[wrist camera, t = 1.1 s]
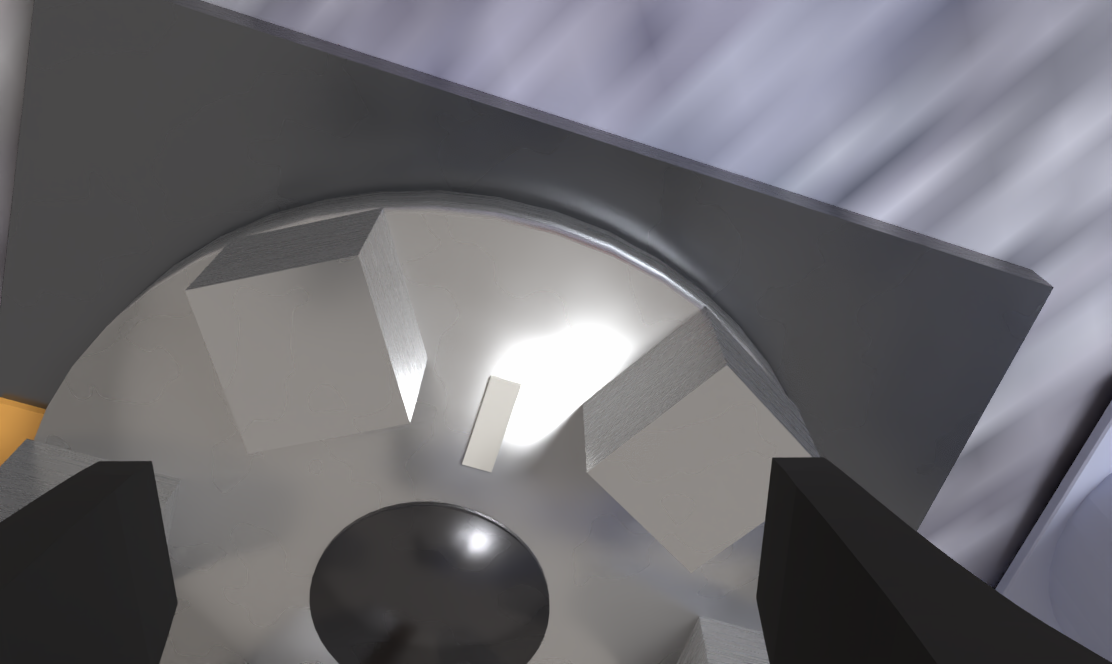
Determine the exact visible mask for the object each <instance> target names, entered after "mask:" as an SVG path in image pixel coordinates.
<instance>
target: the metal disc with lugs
mask: <svg viewBox="0 0 1112 664" xmlns="http://www.w3.org/2000/svg"><path fill="white" fill-rule="evenodd" d="M773 457H820V455H819V453H818V451H817V449H816V446H815V444H814V442H813V440H812V438H811V436H810V434H809V431H808V429H807V427H806V425H805V423H804V421H803V419H802V416H801V414H800V412H799V410H798V408H797V406H796V405H795V404H794V403H793V402H792V400H791V399H790V398H789V397H788V396H787V395H786V393H785V391H784V390H783V388H782V386H781V384H780V383H779V381H778V379H777V377H776V375H775V374H774V372H773V370H772V368H771V367H770V365H769V363H768V362H767V361H766V360H765V358H764V357H763V356H762V354H761V353H760V352H759V351H758V349H757V348H756V347H755V346H754V344H753V343H752V342H751V340H750V339H749V338H748V337H747V335H746V334H745V333H744V331H743V330H742V329H741V328H740V326H739V325H738V324H737V323H736V322H735V321H734V320H733V319H732V318H731V317H730V316H728V315H727V314H726V313H725V312H724V311H723V310H722V309H721V308H720V307H719V306H718V305H717V304H716V303H715V302H714V301H713V300H712V299H711V298H710V297H709V296H708V295H707V294H706V293H705V292H704V291H702V290H701V289H700V288H699V287H697V286H696V285H695V284H693V283H692V282H690V281H689V280H688V279H686V278H685V277H684V276H682V275H681V274H679V273H678V272H677V271H675V270H674V269H673V268H671V267H670V266H668V265H667V264H666V263H664V262H663V261H661V260H660V259H659V258H657V257H655V256H654V255H652V254H650V253H648V252H646V251H644V250H642V249H641V248H639V247H637V246H635V245H633V244H631V243H629V242H628V241H626V240H624V239H622V238H620V237H618V236H616V235H615V234H613V233H611V232H609V231H607V230H604V229H601V228H599V227H596V226H594V225H591V224H588V223H586V222H583V221H581V220H578V219H575V218H573V217H570V216H567V215H565V214H562V213H560V212H557V211H554V210H550V209H546V208H542V207H537V206H533V205H529V204H525V203H521V202H517V201H513V200H509V199H505V198H501V197H494V196H485V195H476V194H467V193H459V192H450V191H441V190H436V191H380V192H373V193H366V194H359V195H352V196H345V197H338V198H331V199H325V200H321V201H317V202H314V203H310V204H307V205H303V206H300V207H296V208H293V209H289V210H285V211H282V212H278V213H275V214H271V215H269V216H266V217H264V218H262V219H259V220H257V221H255V222H253V223H250V224H248V225H246V226H243V227H241V228H239V229H237V230H234V231H232V232H230V233H227V234H225V235H223V236H220V237H219V238H217V239H216V240H214V241H212V242H211V243H209V244H207V245H206V246H204V247H203V248H201V249H199V250H198V251H196V252H194V253H193V254H191V255H190V256H188V257H186V258H185V259H183V260H182V261H180V262H178V263H177V264H175V265H174V266H173V267H172V268H170V269H169V270H168V271H167V272H166V273H165V274H163V275H162V276H161V277H160V278H159V279H157V280H156V281H155V282H154V283H153V284H151V285H150V286H149V287H148V288H147V289H146V290H144V291H143V292H142V293H141V294H140V295H138V296H137V297H136V298H135V299H134V300H133V301H132V302H131V303H130V304H129V305H128V306H127V307H126V308H125V309H124V310H123V311H122V312H121V313H120V314H119V315H118V316H117V317H116V318H115V319H114V320H113V321H112V322H111V323H110V324H109V325H108V326H107V327H106V328H105V329H104V330H103V331H102V332H101V334H100V335H99V336H98V337H97V338H96V339H95V340H94V342H93V343H92V344H91V345H90V346H89V347H88V349H87V350H86V351H85V352H84V353H83V354H82V355H81V357H80V358H79V359H78V360H77V361H76V362H75V364H74V365H73V366H72V367H71V369H70V371H69V372H68V374H67V376H66V377H65V379H64V381H63V382H62V384H61V385H60V387H59V389H58V390H57V392H56V394H55V395H54V397H53V398H52V400H51V402H50V403H49V405H48V407H47V408H46V411H45V413H44V416H43V418H42V421H41V423H40V426H39V428H38V431H37V433H36V436H35V438H34V440H30V439H26V440H25V441H24V442H23V443H22V444H21V445H20V446H19V447H18V448H17V449H16V450H15V451H14V453H13V454H12V455H11V456H10V457H9V458H8V459H7V460H6V461H5V462H4V463H3V464H2V465H1V466H0V522H1V521H3V520H4V519H6V518H8V517H9V516H11V515H12V514H14V513H15V512H17V511H18V510H20V509H21V508H23V507H24V506H26V505H28V504H29V503H31V502H32V501H34V500H35V499H37V498H38V497H40V496H41V495H43V494H44V493H46V492H48V491H49V490H51V489H52V488H54V487H55V486H57V485H59V484H60V483H62V482H63V481H65V480H67V479H68V478H70V477H71V476H73V475H75V474H76V473H78V472H80V471H82V470H83V469H85V468H87V467H89V466H91V465H93V464H95V463H96V462H98V461H152V464H153V469H154V475H155V480H156V486H157V491H158V497H159V502H160V508H161V513H162V519H163V524H164V530H165V535H166V541H167V546H168V552H169V558H170V563H171V569H172V574H173V580H174V585H175V591H176V596H177V602H178V604H177V608H176V611H175V615H174V618H173V621H172V625H171V628H170V631H169V635H168V638H167V642H166V645H165V648H164V651H163V654H162V657H161V660H160V663H159V664H770V663H769V658H768V654H767V649H766V645H765V640H764V636H763V631H762V626H761V621H760V616H759V611H758V606H757V601H756V593H757V584H758V576H759V567H760V559H761V550H762V541H763V533H764V524H765V516H766V507H767V498H768V490H769V481H770V472H771V464H772V458H773Z"/></svg>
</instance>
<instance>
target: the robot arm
mask: <svg viewBox="0 0 1112 664" xmlns="http://www.w3.org/2000/svg"><path fill="white" fill-rule="evenodd" d="M756 601H757V606H758V611H759V616H760V621H761V626H762V631H763V636H764V640H765V645H766V649H767V654H768V658H769V663H770V664H1112V401H1111V402H1110V404H1109V405H1108V407H1107V409H1106V410H1105V412H1104V414H1103V415H1102V417H1101V418H1100V420H1099V422H1098V423H1097V425H1096V427H1095V428H1094V430H1093V431H1092V433H1091V435H1090V436H1089V438H1088V440H1087V441H1086V443H1085V444H1084V446H1083V448H1082V449H1081V451H1080V453H1079V454H1078V456H1077V457H1076V459H1075V461H1074V462H1073V464H1072V466H1071V467H1070V469H1069V470H1068V472H1067V474H1066V475H1065V477H1064V479H1063V480H1062V482H1061V483H1060V485H1059V487H1058V488H1057V490H1056V492H1055V493H1054V495H1053V496H1052V498H1051V500H1050V501H1049V503H1048V505H1047V506H1046V508H1045V509H1044V511H1043V513H1042V514H1041V516H1040V518H1039V519H1038V521H1037V522H1036V524H1035V526H1034V527H1033V529H1032V531H1031V532H1030V534H1029V535H1028V537H1027V539H1026V540H1025V542H1024V544H1023V545H1022V547H1021V548H1020V550H1019V552H1018V553H1017V555H1016V556H1015V558H1014V560H1013V561H1012V563H1011V565H1010V566H1009V568H1008V569H1007V571H1006V573H1005V574H1004V576H1003V578H1002V579H1001V581H1000V582H999V584H998V586H997V587H996V589H993V588H992V587H990V586H989V585H987V584H986V583H985V582H983V581H982V580H980V579H979V578H977V577H976V576H975V575H973V574H972V573H970V572H969V571H968V570H966V569H965V568H964V567H962V566H961V565H960V564H958V563H957V562H955V561H954V560H953V559H951V558H950V557H949V556H947V555H946V554H945V553H943V552H942V551H941V550H940V549H938V548H937V547H936V546H934V545H933V544H932V543H930V542H929V541H928V540H927V539H925V538H924V537H923V536H922V535H920V534H919V533H918V532H916V531H915V530H914V529H913V528H911V527H910V526H909V525H908V524H906V523H905V522H904V521H903V520H902V519H900V518H899V517H898V516H897V515H895V514H894V513H893V512H892V511H890V510H889V509H888V508H887V507H886V506H884V505H883V504H882V503H881V502H879V501H878V500H877V499H876V498H875V497H873V496H872V495H871V494H870V493H869V492H867V491H866V490H865V489H864V488H862V487H861V486H860V485H859V484H858V483H856V482H855V481H854V480H853V479H852V478H850V477H849V476H848V475H847V474H845V473H844V472H843V471H842V470H840V469H839V468H838V467H836V466H835V465H834V464H833V463H831V462H830V461H828V460H827V459H826V458H824V457H773V458H772V464H771V472H770V481H769V490H768V498H767V507H766V516H765V524H764V533H763V541H762V550H761V559H760V567H759V576H758V584H757V593H756ZM177 604H178V602H177V596H176V591H175V585H174V580H173V574H172V569H171V563H170V558H169V552H168V546H167V541H166V535H165V530H164V524H163V519H162V513H161V508H160V502H159V497H158V491H157V486H156V480H155V475H154V469H153V464H152V461H98V462H96V463H95V464H93V465H91V466H89V467H87V468H85V469H83V470H82V471H80V472H78V473H76V474H75V475H73V476H71V477H70V478H68V479H67V480H65V481H63V482H62V483H60V484H59V485H57V486H55V487H54V488H52V489H51V490H49V491H48V492H46V493H44V494H43V495H41V496H40V497H38V498H37V499H35V500H34V501H32V502H31V503H29V504H28V505H26V506H24V507H23V508H21V509H20V510H18V511H17V512H15V513H14V514H12V515H11V516H9V517H8V518H6V519H4V520H3V521H1V522H0V664H159V663H160V660H161V657H162V654H163V651H164V648H165V645H166V642H167V638H168V635H169V631H170V628H171V625H172V621H173V618H174V615H175V611H176V608H177Z"/></svg>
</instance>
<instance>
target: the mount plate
mask: <svg viewBox="0 0 1112 664" xmlns="http://www.w3.org/2000/svg"><path fill="white" fill-rule="evenodd" d="M436 190H441V191H450V192H459V193H467V194H476V195H485V196H494V197H501V198H505V199H509V200H513V201H517V202H521V203H525V204H529V205H533V206H537V207H542V208H546V209H550V210H554V211H557V212H560V213H562V214H565V215H567V216H570V217H573V218H575V219H578V220H581V221H583V222H586V223H588V224H591V225H594V226H596V227H599V228H601V229H604V230H607V231H609V232H611V233H613V234H615V235H616V236H618V237H620V238H622V239H624V240H626V241H628V242H629V243H631V244H633V245H635V246H637V247H639V248H641V249H642V250H644V251H646V252H648V253H650V254H652V255H654V256H655V257H657V258H659V259H660V260H661V261H663V262H664V263H666V264H667V265H668V266H670V267H671V268H673V269H674V270H675V271H677V272H678V273H679V274H681V275H682V276H684V277H685V278H686V279H688V280H689V281H690V282H692V283H693V284H695V285H696V286H697V287H699V288H700V289H701V290H702V291H704V292H705V293H706V294H707V295H708V296H709V297H710V298H711V299H712V300H713V301H714V302H715V303H716V304H717V305H718V306H719V307H720V308H721V309H722V310H723V311H724V312H725V313H726V314H727V315H728V316H730V317H731V318H732V319H733V320H734V321H735V322H736V323H737V324H738V325H739V326H740V328H741V329H742V330H743V331H744V333H745V334H746V335H747V337H748V338H749V339H750V340H751V342H752V343H753V344H754V346H755V347H756V348H757V349H758V351H759V352H760V353H761V354H762V356H763V357H764V358H765V360H766V361H767V362H768V363H769V365H770V367H771V368H772V370H773V372H774V374H775V375H776V377H777V379H778V381H779V383H780V384H781V386H782V388H783V390H784V391H785V393H786V395H787V396H788V397H789V398H790V399H791V400H792V402H793V403H794V404H795V405H796V406H797V408H798V410H799V412H800V414H801V416H802V419H803V421H804V423H805V425H806V427H807V429H808V431H809V434H810V436H811V438H812V440H813V442H814V444H815V446H816V449H817V451H818V453H819V455H820V457H824V458H826V459H827V460H828V461H830V462H831V463H833V464H834V465H835V466H836V467H838V468H839V469H840V470H842V471H843V472H844V473H845V474H847V475H848V476H849V477H850V478H852V479H853V480H854V481H855V482H856V483H858V484H859V485H860V486H861V487H862V488H864V489H865V490H866V491H867V492H869V493H870V494H871V495H872V496H873V497H875V498H876V499H877V500H878V501H879V502H881V503H882V504H883V505H884V506H886V507H887V508H888V509H889V510H890V511H892V512H893V513H894V514H895V515H897V516H898V517H899V518H900V519H902V520H903V521H904V522H905V523H906V524H908V525H909V526H910V527H911V528H913V529H914V530H915V531H916V532H917V530H918V528H919V526H920V525H921V523H922V521H923V519H924V517H925V516H926V514H927V512H928V510H929V508H930V507H931V505H932V503H933V501H934V500H935V498H936V496H937V494H938V492H939V491H940V489H941V487H942V485H943V484H944V482H945V480H946V478H947V476H948V475H949V473H950V471H951V469H952V467H953V466H954V464H955V462H956V460H957V459H958V457H959V455H960V453H961V451H962V450H963V448H964V446H965V444H966V443H967V441H968V439H969V437H970V435H971V434H972V432H973V430H974V428H975V426H976V425H977V423H978V421H979V419H980V418H981V416H982V414H983V412H984V410H985V409H986V407H987V405H988V403H989V402H990V400H991V398H992V396H993V394H994V393H995V391H996V389H997V387H998V385H999V384H1000V382H1001V380H1002V378H1003V377H1004V375H1005V373H1006V371H1007V369H1008V368H1009V366H1010V364H1011V362H1012V360H1013V359H1014V357H1015V355H1016V353H1017V352H1018V350H1019V348H1020V346H1021V344H1022V343H1023V341H1024V339H1025V337H1026V336H1027V334H1028V332H1029V330H1030V328H1031V327H1032V325H1033V323H1034V321H1035V319H1036V318H1037V316H1038V314H1039V312H1040V311H1041V309H1042V307H1043V305H1044V303H1045V302H1046V300H1047V298H1048V296H1049V295H1050V293H1051V291H1052V289H1053V287H1052V286H1051V285H1050V284H1049V283H1047V282H1046V281H1045V280H1044V279H1042V278H1041V277H1040V276H1039V275H1037V274H1036V273H1035V272H1034V271H1032V270H1030V269H1027V268H1024V267H1021V266H1018V265H1015V264H1012V263H1009V262H1006V261H1003V260H999V259H996V258H993V257H990V256H987V255H984V254H981V253H978V252H975V251H972V250H969V249H966V248H962V247H959V246H956V245H953V244H950V243H947V242H944V241H941V240H938V239H935V238H932V237H929V236H925V235H922V234H919V233H916V232H913V231H910V230H907V229H904V228H901V227H898V226H895V225H892V224H888V223H885V222H882V221H879V220H876V219H873V218H870V217H867V216H864V215H861V214H858V213H855V212H851V211H848V210H845V209H842V208H839V207H836V206H833V205H830V204H827V203H824V202H821V201H818V200H814V199H811V198H808V197H805V196H802V195H799V194H796V193H793V192H790V191H787V190H784V189H781V188H777V187H774V186H771V185H768V184H765V183H762V182H759V181H756V180H753V179H750V178H747V177H744V176H740V175H737V174H734V173H731V172H728V171H725V170H722V169H719V168H716V167H713V166H710V165H707V164H703V163H700V162H697V161H694V160H691V159H688V158H685V157H682V156H679V155H676V154H673V153H670V152H666V151H663V150H660V149H657V148H654V147H651V146H648V145H645V144H642V143H639V142H636V141H633V140H629V139H626V138H623V137H620V136H617V135H614V134H611V133H608V132H605V131H602V130H599V129H596V128H592V127H589V126H586V125H583V124H580V123H577V122H574V121H571V120H568V119H565V118H562V117H559V116H555V115H552V114H549V113H546V112H543V111H540V110H537V109H534V108H531V107H528V106H525V105H522V104H518V103H515V102H512V101H509V100H506V99H503V98H500V97H497V96H494V95H491V94H488V93H485V92H481V91H478V90H475V89H472V88H469V87H466V86H463V85H460V84H457V83H454V82H451V81H448V80H444V79H441V78H438V77H435V76H432V75H429V74H426V73H423V72H420V71H417V70H414V69H411V68H407V67H404V66H401V65H398V64H395V63H392V62H389V61H386V60H383V59H380V58H377V57H373V56H370V55H367V54H364V53H361V52H358V51H355V50H352V49H349V48H346V47H343V46H340V45H336V44H333V43H330V42H327V41H324V40H321V39H318V38H315V37H312V36H309V35H306V34H303V33H299V32H296V31H293V30H290V29H287V28H284V27H281V26H278V25H275V24H272V23H269V22H266V21H262V20H259V19H256V18H253V17H250V16H247V15H244V14H241V13H238V12H235V11H232V10H229V9H225V8H222V7H219V6H216V5H213V4H210V3H207V2H204V1H201V0H34V7H33V16H32V25H31V34H30V43H29V52H28V61H27V71H26V80H25V89H24V98H23V107H22V116H21V125H20V134H19V143H18V152H17V161H16V170H15V179H14V188H13V198H12V207H11V216H10V225H9V234H8V243H7V252H6V261H5V270H4V279H3V288H2V297H1V306H0V466H1V465H2V464H3V463H4V462H5V461H6V460H7V459H8V458H9V457H10V456H11V455H12V454H13V453H14V451H15V450H16V449H17V448H18V447H19V446H20V445H21V444H22V443H23V442H24V441H25V440H26V439H30V440H34V438H35V436H36V433H37V431H38V428H39V426H40V423H41V421H42V418H43V416H44V413H45V411H46V408H47V407H48V405H49V403H50V402H51V400H52V398H53V397H54V395H55V394H56V392H57V390H58V389H59V387H60V385H61V384H62V382H63V381H64V379H65V377H66V376H67V374H68V372H69V371H70V369H71V367H72V366H73V365H74V364H75V362H76V361H77V360H78V359H79V358H80V357H81V355H82V354H83V353H84V352H85V351H86V350H87V349H88V347H89V346H90V345H91V344H92V343H93V342H94V340H95V339H96V338H97V337H98V336H99V335H100V334H101V332H102V331H103V330H104V329H105V328H106V327H107V326H108V325H109V324H110V323H111V322H112V321H113V320H114V319H115V318H116V317H117V316H118V315H119V314H120V313H121V312H122V311H123V310H124V309H125V308H126V307H127V306H128V305H129V304H130V303H131V302H132V301H133V300H134V299H135V298H136V297H137V296H138V295H140V294H141V293H142V292H143V291H144V290H146V289H147V288H148V287H149V286H150V285H151V284H153V283H154V282H155V281H156V280H157V279H159V278H160V277H161V276H162V275H163V274H165V273H166V272H167V271H168V270H169V269H170V268H172V267H173V266H174V265H175V264H177V263H178V262H180V261H182V260H183V259H185V258H186V257H188V256H190V255H191V254H193V253H194V252H196V251H198V250H199V249H201V248H203V247H204V246H206V245H207V244H209V243H211V242H212V241H214V240H216V239H217V238H219V237H220V236H223V235H225V234H227V233H230V232H232V231H234V230H237V229H239V228H241V227H243V226H246V225H248V224H250V223H253V222H255V221H257V220H259V219H262V218H264V217H266V216H269V215H271V214H275V213H278V212H282V211H285V210H289V209H293V208H296V207H300V206H303V205H307V204H310V203H314V202H317V201H321V200H325V199H331V198H338V197H345V196H352V195H359V194H366V193H373V192H380V191H436Z"/></svg>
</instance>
